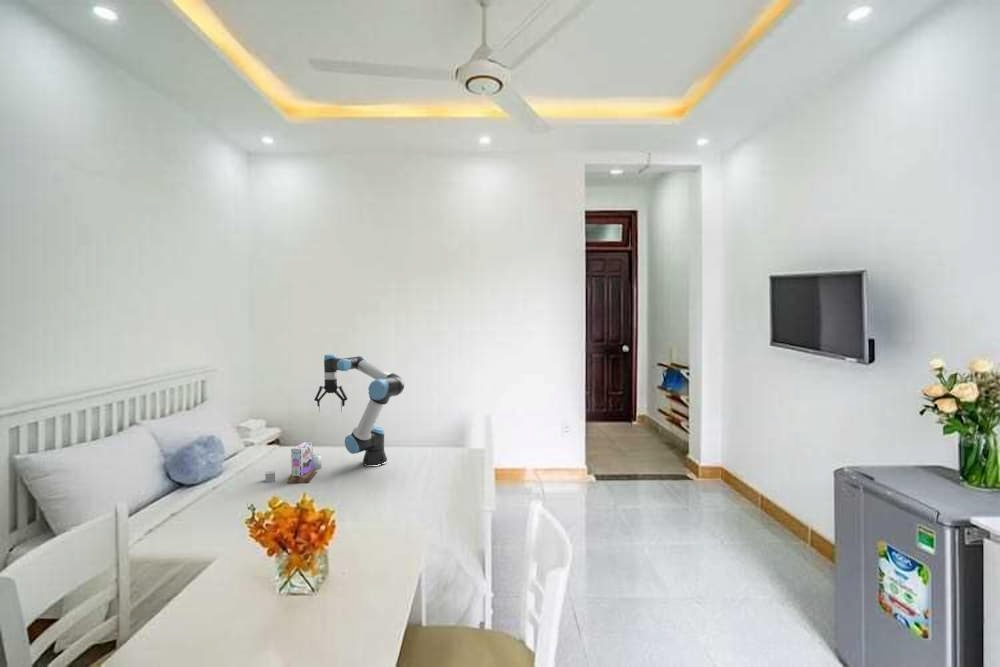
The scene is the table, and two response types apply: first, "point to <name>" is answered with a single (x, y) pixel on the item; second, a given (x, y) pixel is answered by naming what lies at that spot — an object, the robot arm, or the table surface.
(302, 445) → the candy box
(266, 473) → the grey box
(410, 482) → the table surface
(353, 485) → the table surface
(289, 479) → the brown wooden board
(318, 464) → the light grey rounded block
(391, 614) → the table surface
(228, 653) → the table surface
